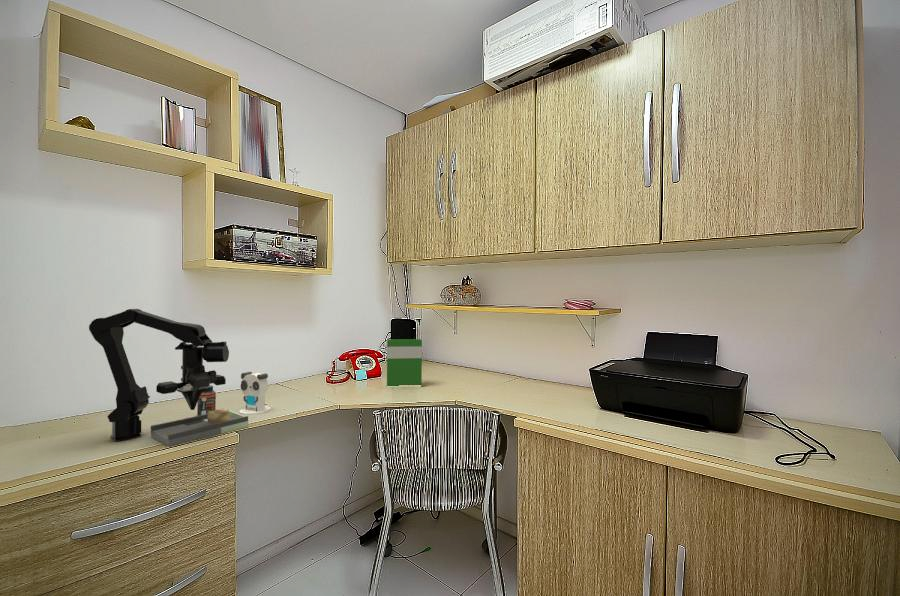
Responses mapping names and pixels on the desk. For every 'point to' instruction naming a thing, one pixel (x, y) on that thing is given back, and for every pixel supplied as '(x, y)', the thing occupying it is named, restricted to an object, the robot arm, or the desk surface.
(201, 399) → the supplement bottle
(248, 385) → the panda figurine
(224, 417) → the maple block
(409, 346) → the hardback book
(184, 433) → the shallow grey tray
